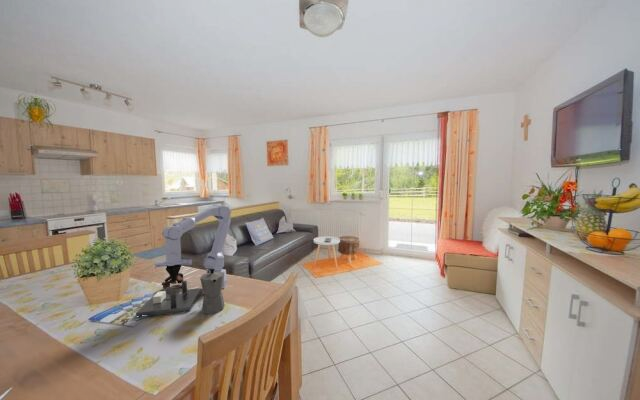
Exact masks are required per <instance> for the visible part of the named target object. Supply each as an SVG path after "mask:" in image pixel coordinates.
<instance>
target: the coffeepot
mask: <svg viewBox="0 0 640 400" xmlns="http://www.w3.org/2000/svg"><path fill="white" fill-rule="evenodd" d="M223 277H224V273H222V272H214V269H209V270H208V273H207V274H206V273H204V274H202V275H201V276H200V277H199V279H200V283H201V288H202V293H204V294H203V295H204V296H203V298H202V299H203V300H202V307H201V312H202V313H203V314H205V315H213V314H217V313H219V312H221V311H223V310H224V308H225V305H226V304H225V299H224V295H223V292H222V290H223V289H222V284H223Z"/></svg>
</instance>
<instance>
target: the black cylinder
mask: <svg viewBox="0 0 640 400" xmlns="http://www.w3.org/2000/svg"><path fill="white" fill-rule="evenodd" d="M170 298H171V307H175V306H176V294H172V295H170Z"/></svg>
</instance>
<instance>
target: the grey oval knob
mask: <svg viewBox="0 0 640 400" xmlns="http://www.w3.org/2000/svg"><path fill="white" fill-rule="evenodd" d="M187 283H188V281H187V280H183V281H182V283H181V285H182V287H181V290H182V292H187V289H188V286H187Z"/></svg>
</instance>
